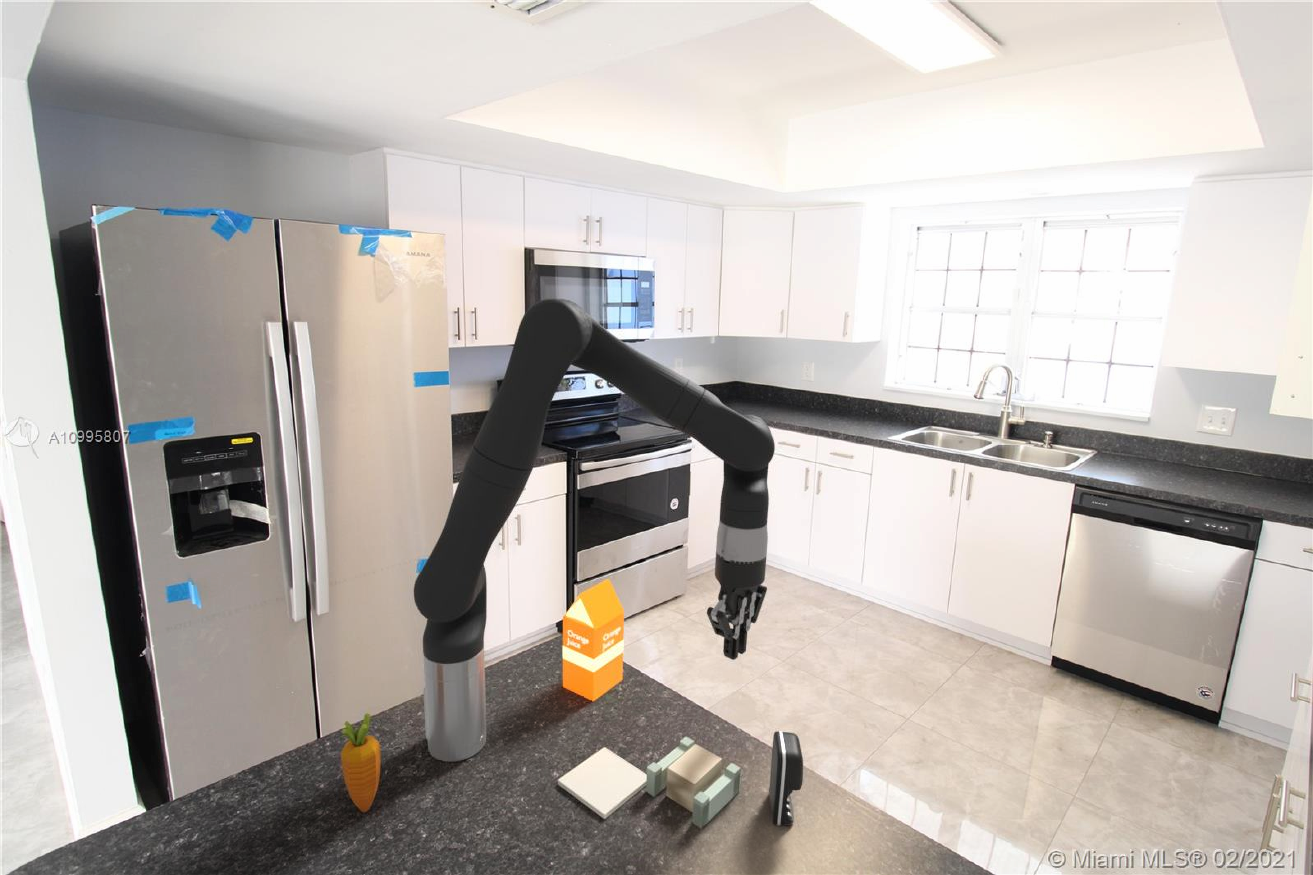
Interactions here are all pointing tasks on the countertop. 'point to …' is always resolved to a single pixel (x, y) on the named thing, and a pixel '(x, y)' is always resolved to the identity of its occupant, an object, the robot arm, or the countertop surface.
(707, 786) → the block
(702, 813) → the rails
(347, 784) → the carrot
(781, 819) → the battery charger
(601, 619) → the orange juice
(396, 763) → the countertop surface
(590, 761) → the plate
